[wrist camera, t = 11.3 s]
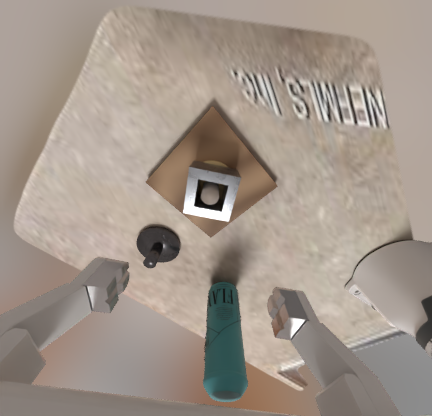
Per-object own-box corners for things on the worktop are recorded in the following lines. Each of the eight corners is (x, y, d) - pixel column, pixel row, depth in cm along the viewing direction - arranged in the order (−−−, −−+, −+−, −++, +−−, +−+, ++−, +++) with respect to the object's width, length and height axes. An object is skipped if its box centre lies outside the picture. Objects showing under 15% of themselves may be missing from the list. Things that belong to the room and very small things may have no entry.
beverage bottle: (235, 273, 34) (254, 435, 16) (238, 293, 37) (257, 449, 19) (205, 276, 34) (191, 436, 17) (211, 296, 37) (204, 449, 20)
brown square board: (275, 183, 25) (290, 199, 19) (211, 233, 29) (209, 257, 24) (212, 106, 20) (210, 99, 15) (148, 179, 25) (129, 194, 19)
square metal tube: (237, 169, 22) (241, 177, 18) (227, 207, 24) (228, 221, 21) (194, 160, 21) (189, 166, 18) (188, 200, 24) (183, 213, 20)
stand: (188, 244, 31) (183, 264, 26) (163, 265, 33) (154, 286, 29) (155, 218, 28) (143, 236, 24) (130, 243, 31) (115, 262, 26)
